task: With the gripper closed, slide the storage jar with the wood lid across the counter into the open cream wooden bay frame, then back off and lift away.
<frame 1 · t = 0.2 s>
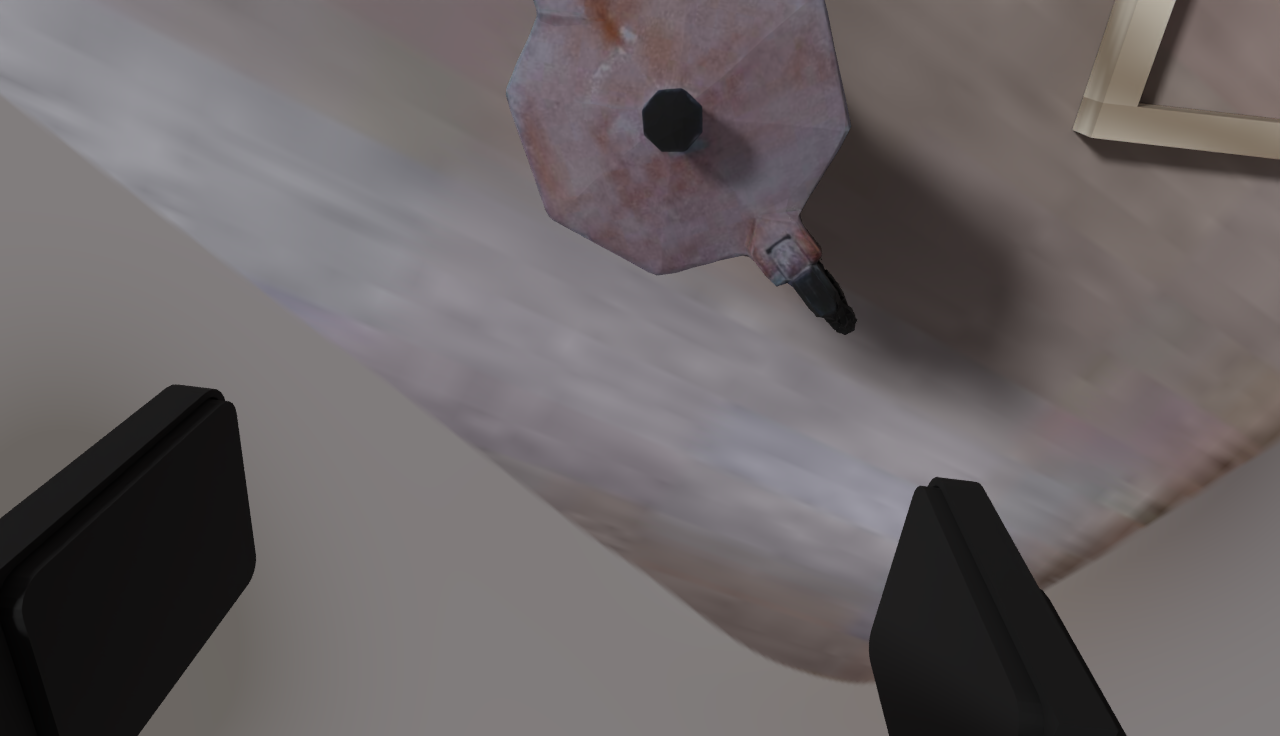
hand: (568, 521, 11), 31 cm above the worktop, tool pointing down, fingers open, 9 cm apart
moka pot: (702, 75, 38), on the worktop
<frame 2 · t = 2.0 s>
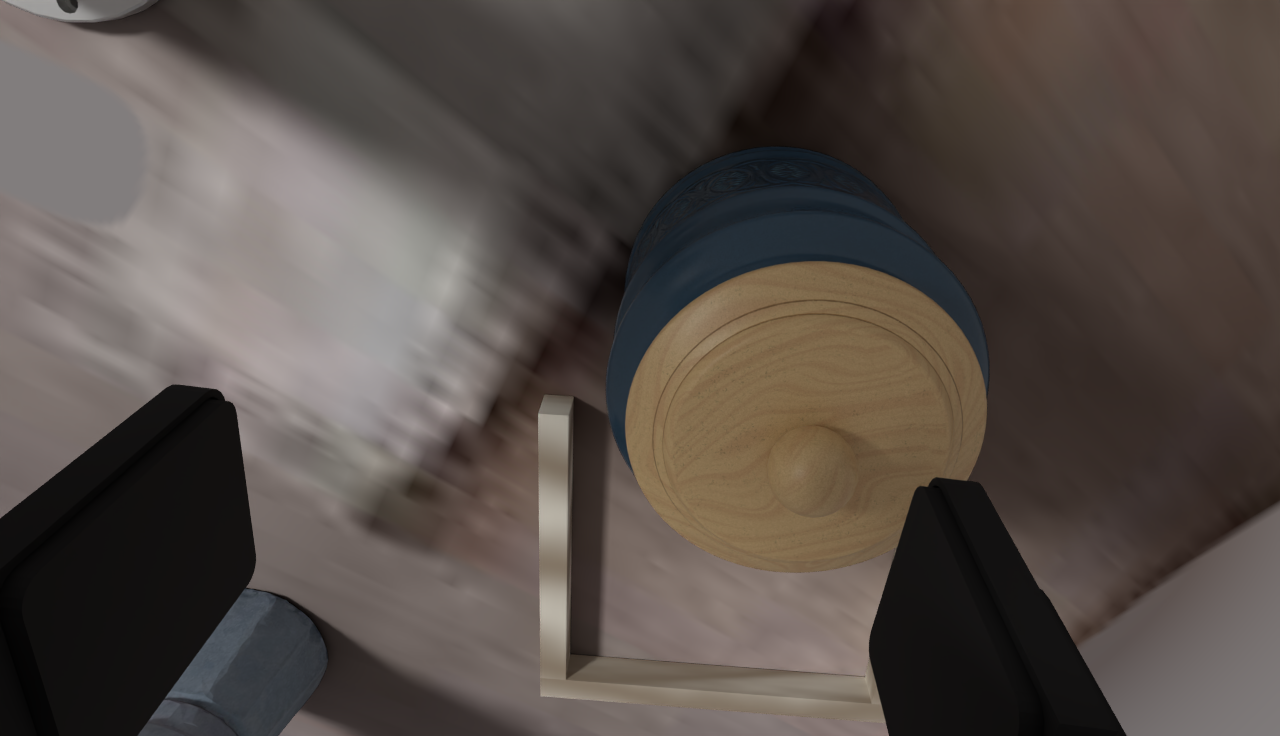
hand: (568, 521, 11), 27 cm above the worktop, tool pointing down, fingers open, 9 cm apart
canister: (764, 277, 38), on the worktop
bay frame: (731, 548, 45), on the worktop
moka pot: (269, 640, 51), on the worktop
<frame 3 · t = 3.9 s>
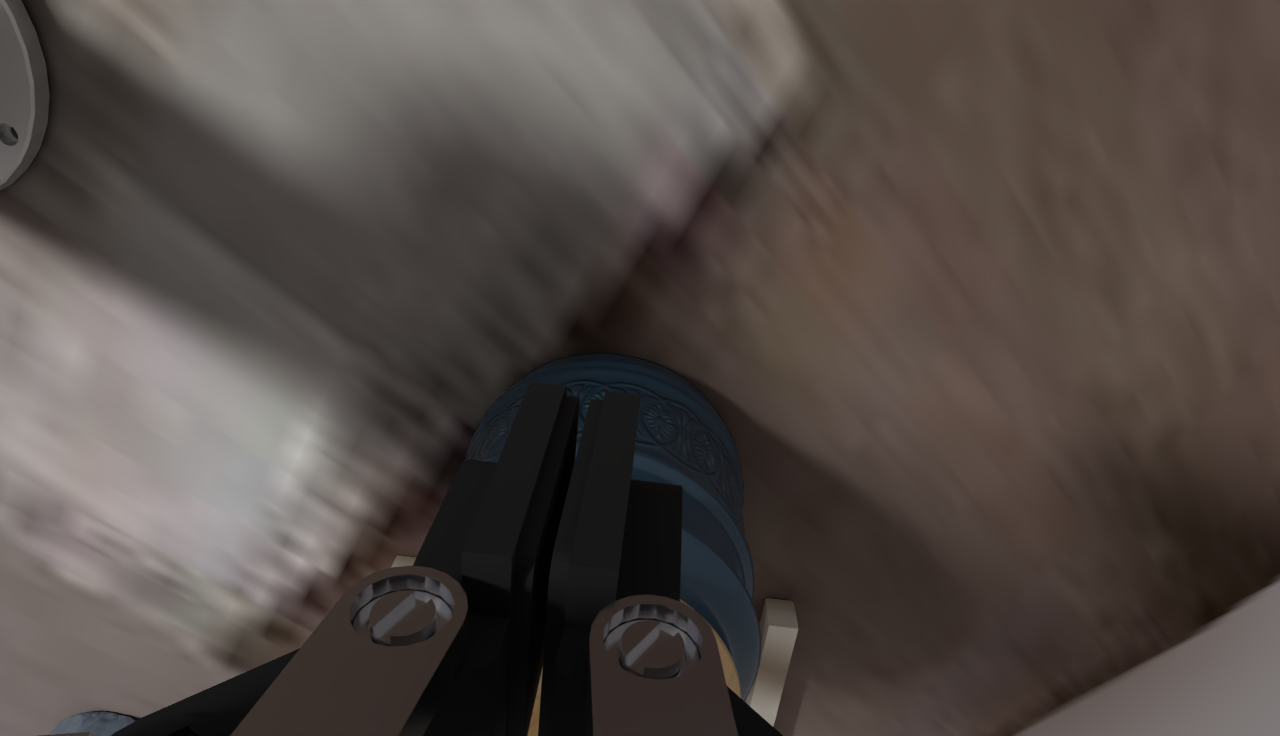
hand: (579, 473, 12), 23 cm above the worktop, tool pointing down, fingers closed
canister: (607, 464, 40), on the worktop
bay frame: (582, 699, 46), on the worktop
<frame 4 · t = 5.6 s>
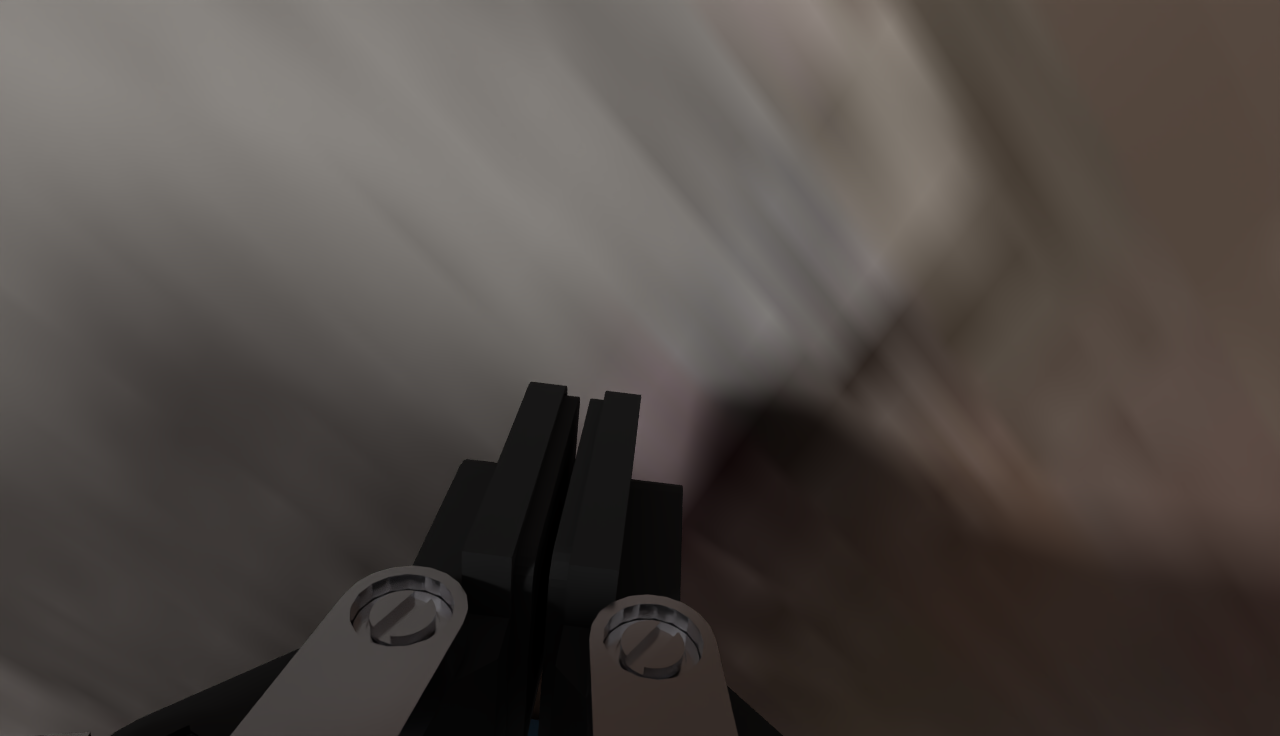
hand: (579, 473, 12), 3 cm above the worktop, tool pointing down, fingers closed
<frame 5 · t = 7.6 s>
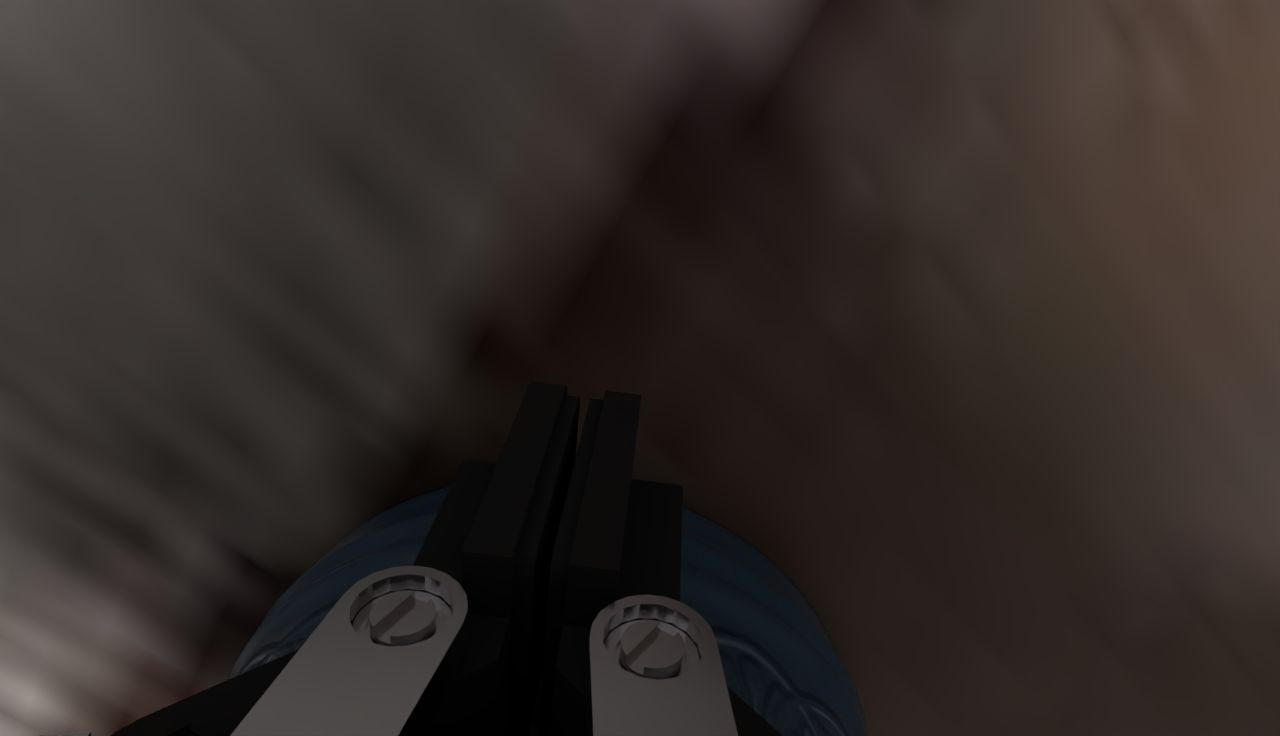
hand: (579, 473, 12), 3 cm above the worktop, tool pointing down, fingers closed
canister: (562, 695, 18), on the worktop, touching gripper
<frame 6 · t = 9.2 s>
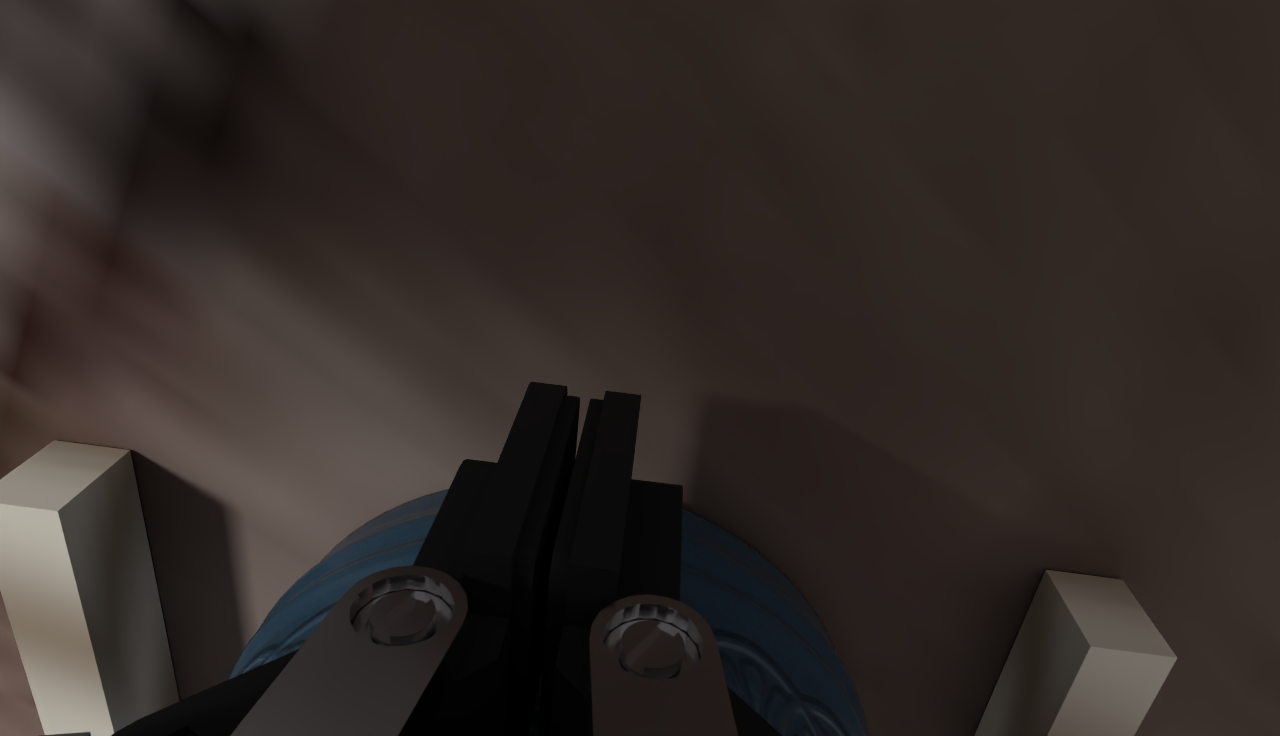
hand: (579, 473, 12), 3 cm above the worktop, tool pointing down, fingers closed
canister: (563, 697, 18), on the worktop, touching gripper
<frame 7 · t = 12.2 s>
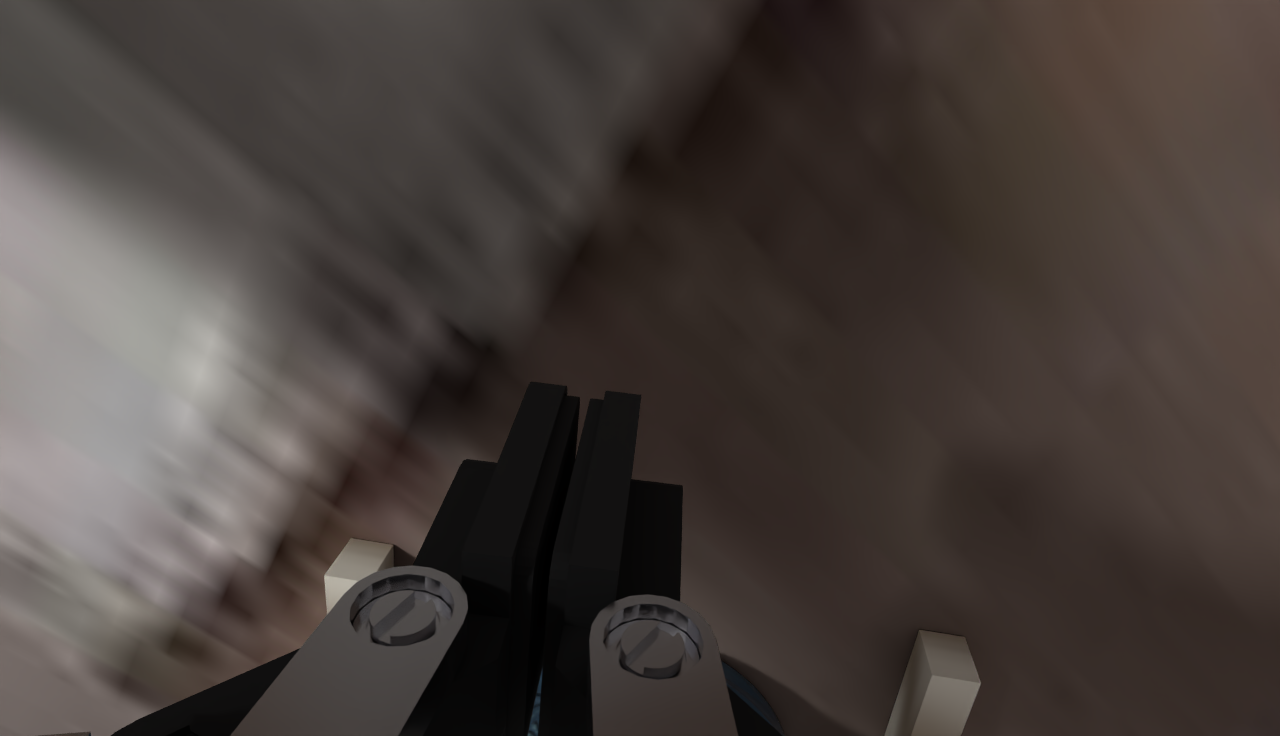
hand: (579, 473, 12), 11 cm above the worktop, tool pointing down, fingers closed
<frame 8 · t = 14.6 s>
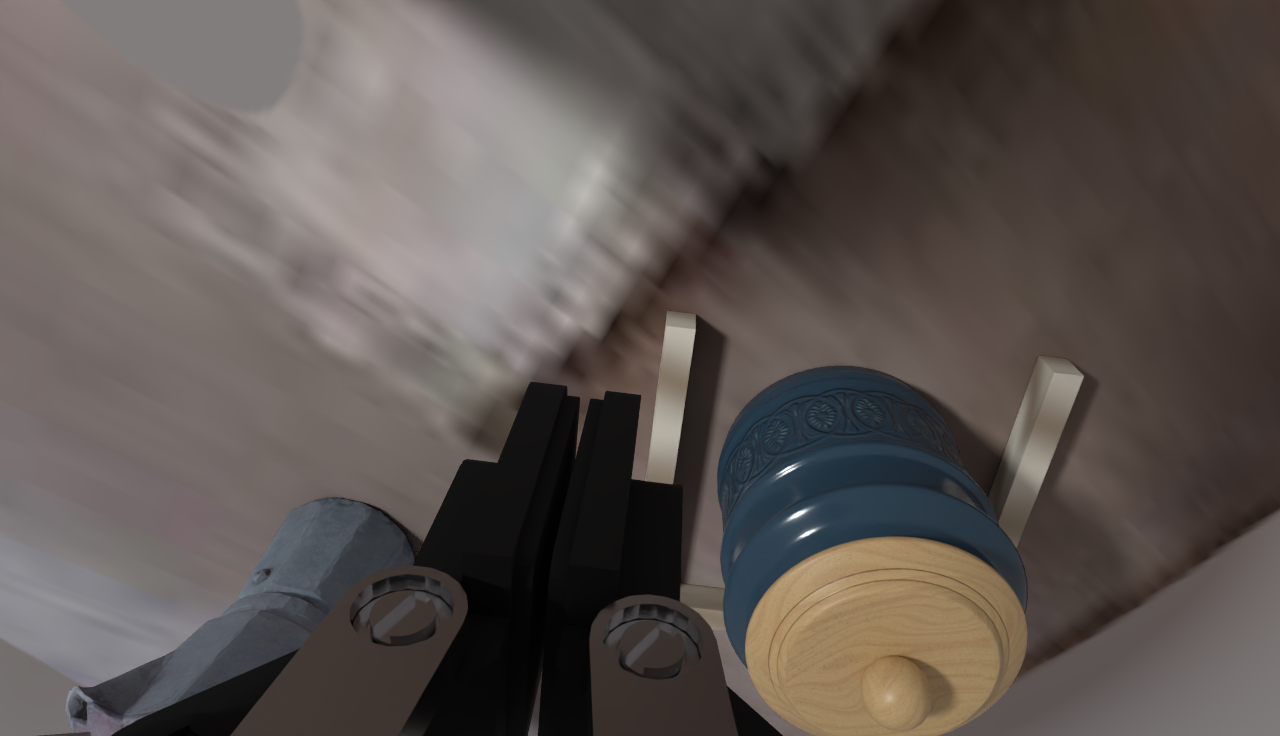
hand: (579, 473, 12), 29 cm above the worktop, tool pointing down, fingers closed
canister: (830, 460, 46), on the worktop
bay frame: (831, 477, 46), on the worktop
moka pot: (356, 553, 51), on the worktop
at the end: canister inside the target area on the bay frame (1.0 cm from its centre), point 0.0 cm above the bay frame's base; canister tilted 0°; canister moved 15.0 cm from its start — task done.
